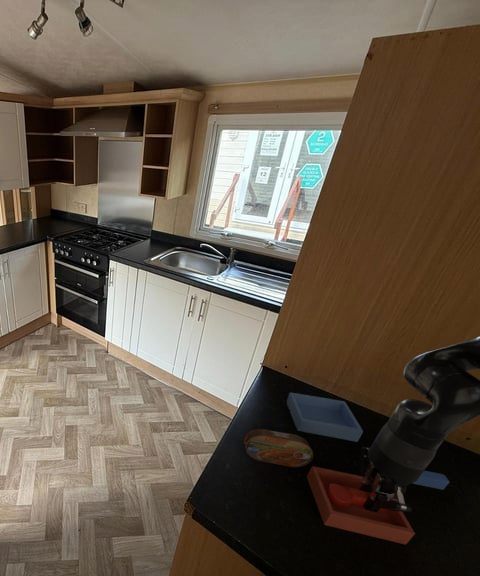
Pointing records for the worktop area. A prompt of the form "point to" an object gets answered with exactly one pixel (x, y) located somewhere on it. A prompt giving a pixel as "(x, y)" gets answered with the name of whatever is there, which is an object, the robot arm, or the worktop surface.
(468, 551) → the worktop surface
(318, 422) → the blue bin
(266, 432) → the tin
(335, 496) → the red spoon
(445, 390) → the robot arm
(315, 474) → the terracotta bin
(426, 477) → the blue spoon
